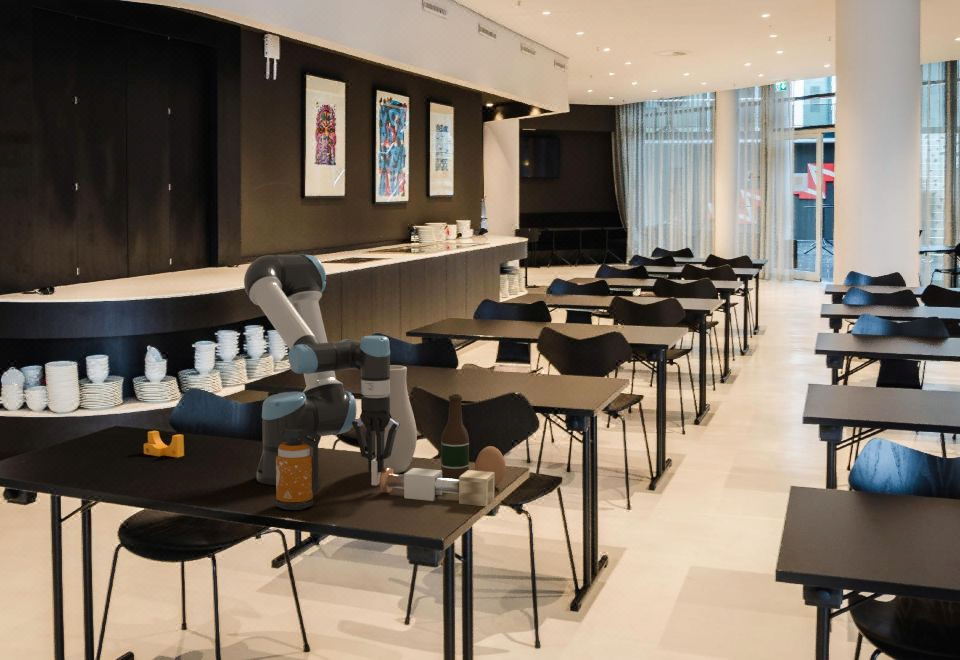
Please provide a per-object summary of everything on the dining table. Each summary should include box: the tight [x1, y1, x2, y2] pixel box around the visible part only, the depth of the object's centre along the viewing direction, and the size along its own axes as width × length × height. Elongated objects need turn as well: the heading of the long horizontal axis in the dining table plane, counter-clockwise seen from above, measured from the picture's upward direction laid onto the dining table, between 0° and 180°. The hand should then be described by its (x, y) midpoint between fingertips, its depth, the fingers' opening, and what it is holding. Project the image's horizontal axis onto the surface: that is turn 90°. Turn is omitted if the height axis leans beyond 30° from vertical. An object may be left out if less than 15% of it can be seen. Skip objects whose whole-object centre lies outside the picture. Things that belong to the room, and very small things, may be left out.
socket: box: [458, 469, 495, 507], centre depth 265 cm, size 7×7×7 cm
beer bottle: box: [440, 393, 470, 480], centre depth 284 cm, size 8×8×24 cm
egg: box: [474, 445, 507, 488], centre depth 279 cm, size 8×8×11 cm
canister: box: [275, 427, 322, 511], centre depth 258 cm, size 9×11×20 cm
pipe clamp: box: [143, 430, 185, 458], centre depth 312 cm, size 12×4×6 cm, turn 62°
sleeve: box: [403, 467, 443, 502], centre depth 270 cm, size 8×7×6 cm
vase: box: [375, 364, 418, 474], centre depth 293 cm, size 14×14×30 cm
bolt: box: [379, 468, 459, 495], centre depth 269 cm, size 24×6×6 cm, turn 73°
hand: (376, 483), depth 273 cm, fingers closed
